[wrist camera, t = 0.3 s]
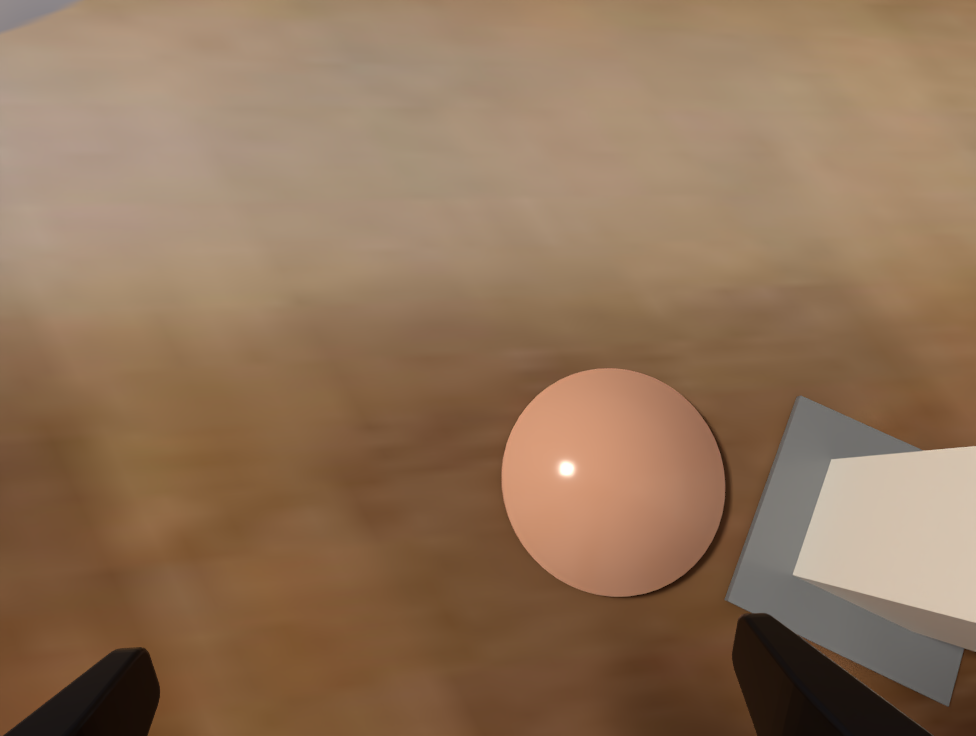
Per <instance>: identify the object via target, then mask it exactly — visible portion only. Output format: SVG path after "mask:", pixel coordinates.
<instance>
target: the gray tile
mask: <svg viewBox="0 0 976 736" xmlns="http://www.w3.org/2000/svg"><path fill="white" fill-rule="evenodd" d="M917 451H923V450H921V449H919V448H916V447H914V446H912V445H910V444H907V443H905V442H903V441H901V440H898V439H896V438H894V437H892V436H890V435H887V434H885V433H883V432H881V431H878V430H876V429H874V428H872V427H870V426H867V425H865V424H863V423H861V422H858V421H856V420H854V419H852V418H849V417H847V416H845V415H843V414H841V413H838V412H836V411H834V410H832V409H829V408H827V407H825V406H823V405H821V404H818V403H816V402H814V401H812V400H809V399H807V398H805V397H803V396H798V397H797V398H796V401H795V403H794V406H793V409H792V412H791V415H790V417H789V420H788V423H787V426H786V429H785V431H784V434H783V437H782V440H781V443H780V445H779V448H778V451H777V454H776V457H775V459H774V462H773V465H772V468H771V471H770V474H769V476H768V479H767V482H766V485H765V488H764V490H763V493H762V496H761V499H760V502H759V504H758V507H757V510H756V513H755V516H754V518H753V521H752V524H751V527H750V530H749V532H748V535H747V538H746V541H745V544H744V547H743V549H742V552H741V555H740V558H739V561H738V563H737V566H736V569H735V572H734V575H733V577H732V580H731V583H730V586H729V589H728V591H727V594H726V597H725V600H726V601H728V602H730V603H732V604H735V605H737V606H739V607H741V608H743V609H745V610H747V611H749V612H751V613H767V614H769V615H771V616H773V617H774V618H776V619H777V620H778V621H780V622H781V623H782V624H784V625H785V626H786V627H788V628H789V629H790V630H792V631H793V632H794V633H796V634H797V635H799V636H801V637H803V638H806V639H808V640H810V641H812V642H814V643H816V644H818V645H820V646H822V647H824V648H826V649H829V650H831V651H833V652H835V653H837V654H839V655H841V656H843V657H845V658H847V659H849V660H851V661H854V662H856V663H858V664H860V665H862V666H864V667H866V668H868V669H870V670H872V671H874V672H877V673H879V674H881V675H883V676H885V677H887V678H889V679H891V680H893V681H895V682H897V683H900V684H902V685H904V686H906V687H908V688H910V689H912V690H914V691H916V692H918V693H920V694H922V695H925V696H927V697H929V698H931V699H933V700H935V701H937V702H939V703H941V704H943V705H946V706H948V707H949V703H950V699H951V696H952V692H953V688H954V684H955V681H956V677H957V673H958V669H959V665H960V662H961V658H962V654H963V650H964V648H962V647H959V646H956V645H952V644H949V643H946V642H943V641H940V640H937V639H934V638H930V637H927V636H924V635H921V634H918V633H915V632H912V631H910V630H908V629H906V628H904V627H902V626H899V625H897V624H895V623H893V622H891V621H889V620H887V619H885V618H883V617H880V616H878V615H876V614H874V613H872V612H870V611H868V610H866V609H863V608H861V607H859V606H857V605H855V604H853V603H851V602H849V601H846V600H844V599H842V598H840V597H838V596H836V595H834V594H832V593H830V592H827V591H825V590H823V589H821V588H819V587H817V586H815V585H813V584H810V583H808V582H806V581H804V580H802V579H800V578H798V577H796V576H793V572H794V569H795V566H796V563H797V560H798V557H799V554H800V551H801V548H802V545H803V542H804V539H805V536H806V533H807V530H808V527H809V524H810V521H811V518H812V515H813V512H814V509H815V506H816V503H817V501H818V498H819V495H820V492H821V489H822V486H823V483H824V480H825V477H826V474H827V471H828V468H829V465H830V462H831V459H840V458H851V457H862V456H873V455H884V454H895V453H906V452H917Z"/></svg>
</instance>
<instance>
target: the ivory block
mask: <svg viewBox="0 0 976 736" xmlns="http://www.w3.org/2000/svg"><path fill="white" fill-rule="evenodd" d="M793 576H796V577H798V578H800V579H802V580H804V581H806V582H808V583H810V584H813V585H815V586H817V587H819V588H821V589H823V590H825V591H827V592H830V593H832V594H834V595H836V596H838V597H840V598H842V599H844V600H846V601H849V602H851V603H853V604H855V605H857V606H859V607H861V608H863V609H866V610H868V611H870V612H872V613H874V614H876V615H878V616H880V617H883V618H885V619H887V620H889V621H891V622H893V623H895V624H897V625H899V626H902V627H904V628H906V629H908V630H910V631H912V632H915V633H918V634H921V635H924V636H927V637H930V638H934V639H937V640H940V641H943V642H946V643H949V644H952V645H956V646H959V647H962V648H965V649H968V650H971V651H974V652H976V446H972V447H961V448H950V449H939V450H928V451H917V452H906V453H895V454H884V455H873V456H862V457H851V458H840V459H831V462H830V465H829V468H828V471H827V474H826V477H825V480H824V483H823V486H822V489H821V492H820V495H819V498H818V501H817V503H816V506H815V509H814V512H813V515H812V518H811V521H810V524H809V527H808V530H807V533H806V536H805V539H804V542H803V545H802V548H801V551H800V554H799V557H798V560H797V563H796V566H795V569H794V572H793Z"/></svg>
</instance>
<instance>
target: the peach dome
mask: <svg viewBox="0 0 976 736" xmlns="http://www.w3.org/2000/svg"><path fill="white" fill-rule="evenodd" d="M501 484H502V494H503V500H504V505H505V508H506V512H507V515H508V518H509V520H510V523H511V525H512V527H513V530H514V532H515V533H516V535H517V537H518V538H519V540H520V542H521V543H522V545H523V546H524V547H525V549H526V550H527V551H528V552H529V554H530V555H531V556H532V557H533V558H534V559H535V560H536V561H537V562H538V563H539V564H540V565H541V566H542V567H543V568H544V569H545V570H547V571H548V572H549V573H550V574H552V575H553V576H554V577H556V578H557V579H559V580H561V581H563V582H564V583H566V584H568V585H570V586H572V587H575V588H577V589H580V590H582V591H585V592H589V593H593V594H597V595H603V596H612V597H624V596H634V595H640V594H645V593H648V592H651V591H655V590H658V589H660V588H662V587H664V586H666V585H668V584H670V583H672V582H674V581H675V580H677V579H678V578H680V577H681V576H683V575H684V574H685V573H686V572H687V571H688V570H690V569H691V568H692V567H693V566H694V565H695V564H696V563H697V562H698V560H699V559H700V558H701V557H702V556H703V554H704V553H705V552H706V550H707V548H708V547H709V545H710V544H711V542H712V540H713V538H714V536H715V534H716V531H717V529H718V527H719V523H720V520H721V517H722V513H723V507H724V501H725V476H724V467H723V463H722V459H721V454H720V451H719V449H718V446H717V443H716V441H715V438H714V436H713V435H712V433H711V431H710V429H709V427H708V425H707V424H706V422H705V421H704V419H703V418H702V416H701V415H700V414H699V412H698V411H697V410H696V409H695V408H694V407H693V406H692V404H691V403H690V402H688V401H687V400H686V399H685V398H684V397H683V396H682V395H681V394H680V393H678V392H677V391H675V390H674V389H672V388H671V387H670V386H668V385H666V384H665V383H663V382H661V381H659V380H657V379H655V378H653V377H650V376H647V375H645V374H642V373H638V372H634V371H630V370H624V369H615V368H605V369H593V370H587V371H583V372H579V373H576V374H572V375H570V376H568V377H565V378H563V379H561V380H559V381H557V382H556V383H554V384H552V385H551V386H549V387H547V388H546V389H545V390H544V391H542V392H541V393H540V394H539V395H537V396H536V397H535V398H534V399H533V400H532V402H531V403H530V404H529V405H528V406H527V407H526V408H525V410H524V411H523V412H522V414H521V415H520V417H519V418H518V420H517V422H516V423H515V425H514V427H513V429H512V431H511V433H510V436H509V438H508V441H507V444H506V447H505V451H504V456H503V461H502V471H501Z"/></svg>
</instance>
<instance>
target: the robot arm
mask: <svg viewBox="0 0 976 736" xmlns="http://www.w3.org/2000/svg"><path fill="white" fill-rule="evenodd" d="M732 660H733V666H734V670H735V673H736V676H737V679H738V681H739V684H740V687H741V690H742V693H743V696H744V698H745V701H746V704H747V707H748V710H749V713H750V716H751V718H752V721H753V724H754V727H755V730H756V733H757V736H933V735H932V734H931V733H929V732H928V731H927V730H925V729H924V728H923V727H921V726H920V725H919V724H917V723H916V722H915V721H913V720H912V719H911V718H909V717H908V716H906V715H905V714H904V713H902V712H901V711H900V710H898V709H897V708H896V707H894V706H893V705H892V704H890V703H889V702H888V701H886V700H885V699H884V698H882V697H881V696H879V695H878V694H877V693H875V692H874V691H873V690H871V689H870V688H869V687H867V686H866V685H865V684H863V683H862V682H861V681H859V680H858V679H857V678H855V677H854V676H852V675H851V674H850V673H848V672H847V671H846V670H844V669H843V668H842V667H840V666H839V665H838V664H836V663H835V662H834V661H832V660H831V659H830V658H828V657H827V656H825V655H824V654H823V653H821V652H820V651H819V650H817V649H816V648H815V647H813V646H812V645H811V644H809V643H808V642H807V641H805V640H804V639H803V638H801V637H800V636H798V635H797V634H796V633H794V632H793V631H792V630H790V629H789V628H788V627H786V626H785V625H784V624H782V623H781V622H780V621H778V620H777V619H776V618H774V617H773V616H771V615H769V614H767V613H751V614H743V615H741V616H740V617H739V619H738V623H737V628H736V634H735V640H734V645H733V651H732ZM159 698H160V686H159V682H158V679H157V676H156V673H155V670H154V667H153V664H152V660H151V657H150V654H149V652H148V651H147V650H146V649H145V648H142V647H137V648H120V649H116V650H114V651H112V652H111V653H109V654H108V655H107V656H105V657H104V658H103V659H102V660H100V661H99V662H98V663H96V664H95V665H94V666H93V667H91V668H90V669H89V670H87V671H86V672H85V673H83V674H82V675H81V676H80V677H78V678H77V679H76V680H74V681H73V682H72V683H71V684H69V685H68V686H67V687H65V688H64V689H63V690H61V691H60V692H59V693H58V694H56V695H55V696H54V697H52V698H51V699H50V700H49V701H47V702H46V703H45V704H43V705H42V706H41V707H40V708H38V709H37V710H36V711H34V712H33V713H32V714H30V715H29V716H28V717H27V718H25V719H24V720H23V721H21V722H20V723H19V724H18V725H16V726H15V727H14V728H12V729H11V730H10V731H8V732H7V733H6V734H5V735H3V736H147V735H148V732H149V729H150V727H151V724H152V721H153V718H154V715H155V712H156V709H157V706H158V702H159Z"/></svg>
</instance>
